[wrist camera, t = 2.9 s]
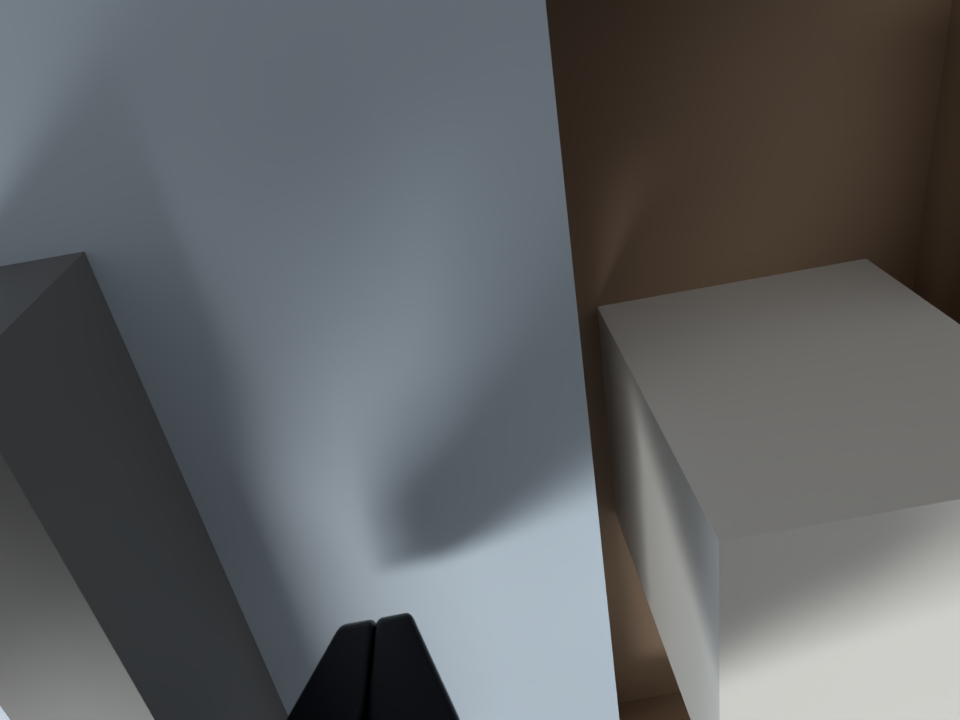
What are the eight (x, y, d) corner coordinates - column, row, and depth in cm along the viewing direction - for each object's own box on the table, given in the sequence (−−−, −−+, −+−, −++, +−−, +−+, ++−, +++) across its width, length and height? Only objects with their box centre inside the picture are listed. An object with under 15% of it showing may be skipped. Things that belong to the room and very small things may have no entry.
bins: (1895, -421, 9) (2382, -538, 7) (1342, 578, 17) (1482, 674, 15) (-800, 62, 9) (-1193, 104, 7) (-85, 833, 17) (-158, 968, 15)
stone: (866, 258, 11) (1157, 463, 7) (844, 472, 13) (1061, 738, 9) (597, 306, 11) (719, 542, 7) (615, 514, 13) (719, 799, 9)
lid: (512, -207, 6) (587, -304, 4) (627, 845, 14) (677, 1048, 12) (-727, 15, 6) (-1502, 72, 4) (70, 944, 14) (-5, 1171, 12)
